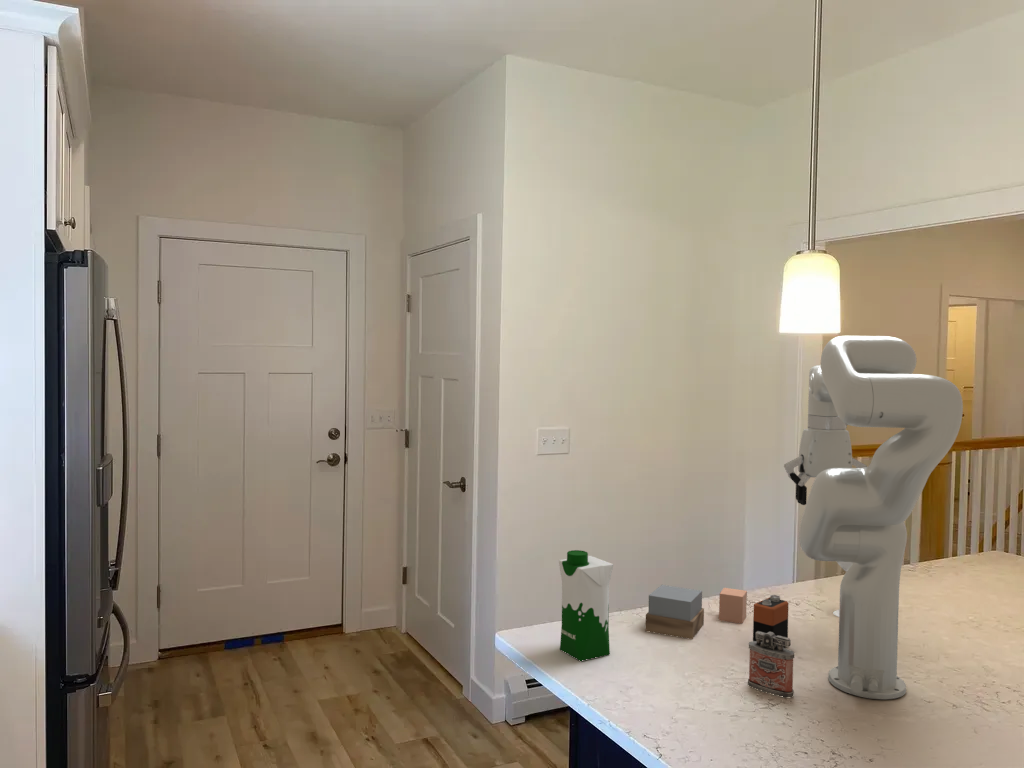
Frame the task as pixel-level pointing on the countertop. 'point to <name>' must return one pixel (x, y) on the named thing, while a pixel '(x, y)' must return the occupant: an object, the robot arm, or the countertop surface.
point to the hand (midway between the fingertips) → (824, 503)
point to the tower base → (675, 625)
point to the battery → (771, 617)
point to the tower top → (675, 602)
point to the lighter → (771, 664)
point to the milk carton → (585, 605)
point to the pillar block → (732, 605)
